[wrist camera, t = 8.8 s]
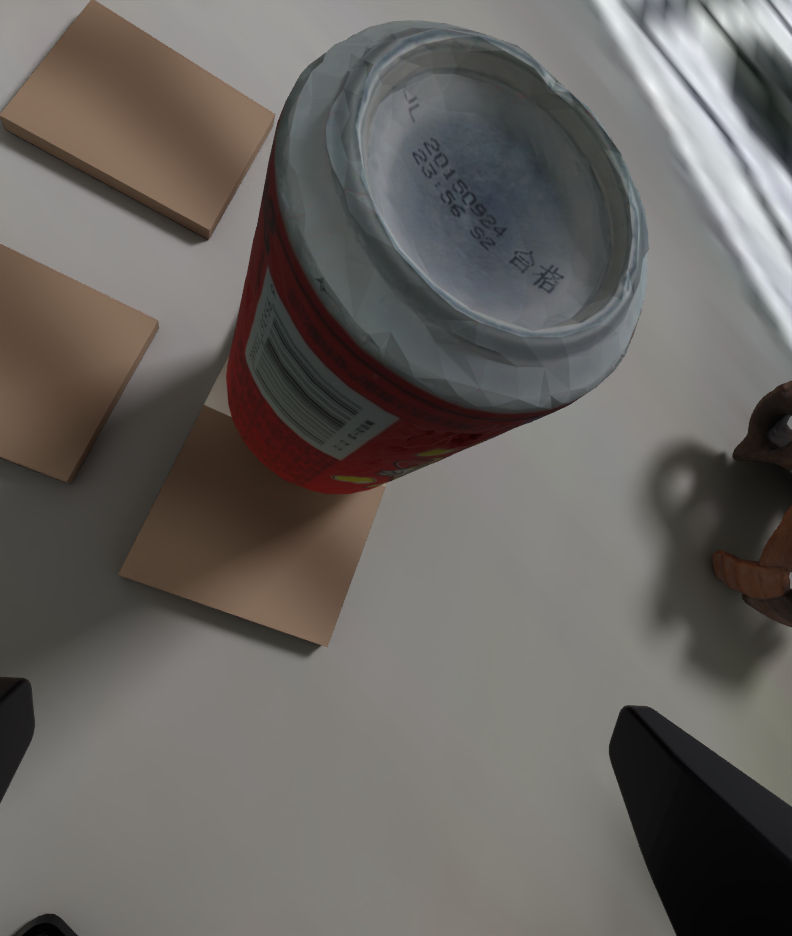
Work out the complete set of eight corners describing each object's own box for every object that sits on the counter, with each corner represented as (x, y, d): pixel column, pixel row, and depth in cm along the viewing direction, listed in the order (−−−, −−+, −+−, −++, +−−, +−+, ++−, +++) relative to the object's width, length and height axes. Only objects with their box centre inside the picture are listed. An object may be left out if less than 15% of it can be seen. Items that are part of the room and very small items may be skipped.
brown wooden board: (323, 644, 18) (327, 647, 18) (120, 574, 16) (117, 574, 16) (455, 283, 23) (462, 276, 23) (310, 196, 21) (314, 186, 21)
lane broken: (70, 484, 16) (66, 481, 16) (-194, 383, 14) (-210, 376, 14) (272, 126, 21) (275, 114, 21) (95, 14, 19) (92, -2, 19)
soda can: (348, 541, 19) (592, 496, 7) (177, 420, 17) (157, 139, 6) (442, 395, 21) (730, 197, 10) (299, 279, 20) (446, -103, 9)
